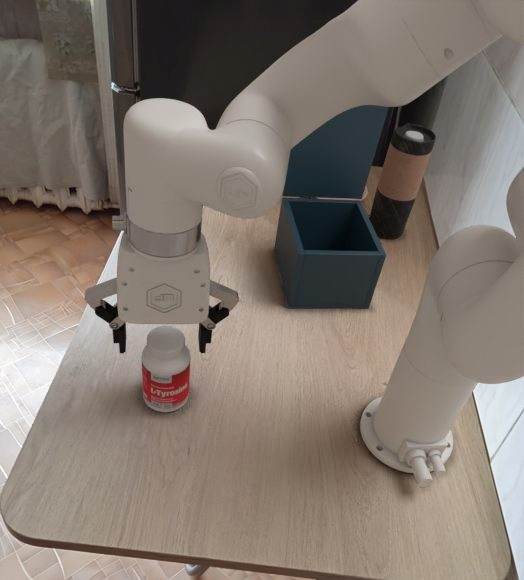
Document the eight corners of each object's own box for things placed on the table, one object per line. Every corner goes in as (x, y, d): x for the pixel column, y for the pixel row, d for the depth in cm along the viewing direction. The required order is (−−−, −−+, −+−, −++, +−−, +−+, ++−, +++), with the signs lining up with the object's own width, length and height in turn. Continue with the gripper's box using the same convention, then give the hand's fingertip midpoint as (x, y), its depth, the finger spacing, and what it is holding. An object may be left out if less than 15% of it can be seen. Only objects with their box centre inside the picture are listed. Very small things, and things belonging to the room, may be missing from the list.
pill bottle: (146, 417, 74) (144, 359, 67) (139, 382, 78) (136, 324, 71) (193, 409, 76) (196, 352, 68) (184, 376, 80) (185, 318, 72)
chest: (368, 308, 96) (386, 255, 88) (287, 308, 93) (298, 253, 85) (346, 252, 107) (360, 200, 99) (273, 250, 104) (282, 197, 96)
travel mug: (403, 243, 111) (437, 146, 97) (364, 235, 111) (393, 137, 97) (404, 223, 116) (436, 128, 102) (367, 215, 117) (394, 119, 103)
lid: (389, 103, 86) (381, 89, 89) (300, 97, 83) (294, 82, 87) (361, 199, 98) (355, 183, 102) (282, 196, 96) (278, 180, 99)
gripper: (73, 247, 54) (88, 368, 66) (251, 253, 57) (234, 367, 69) (80, 204, 59) (92, 324, 71) (243, 212, 63) (229, 325, 75)
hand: (162, 345), depth 70 cm, fingers open, 9 cm apart
